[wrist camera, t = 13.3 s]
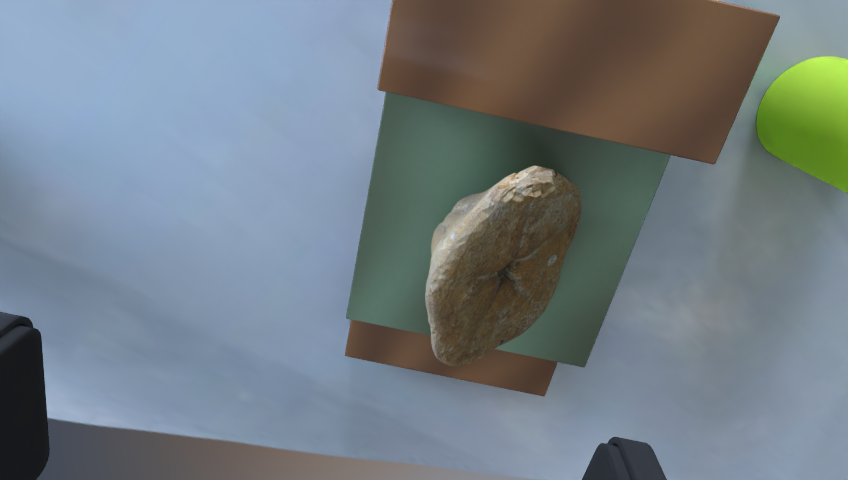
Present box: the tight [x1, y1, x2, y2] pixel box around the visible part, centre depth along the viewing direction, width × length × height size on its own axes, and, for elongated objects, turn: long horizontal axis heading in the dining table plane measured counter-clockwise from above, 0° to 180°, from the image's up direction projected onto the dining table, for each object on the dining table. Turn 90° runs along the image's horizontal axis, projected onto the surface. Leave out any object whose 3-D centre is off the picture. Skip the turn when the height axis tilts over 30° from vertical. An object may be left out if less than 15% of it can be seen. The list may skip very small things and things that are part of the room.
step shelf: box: [345, 0, 780, 396], centre depth 29 cm, size 13×24×11 cm, turn 168°
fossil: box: [425, 166, 582, 366], centre depth 25 cm, size 9×4×10 cm
